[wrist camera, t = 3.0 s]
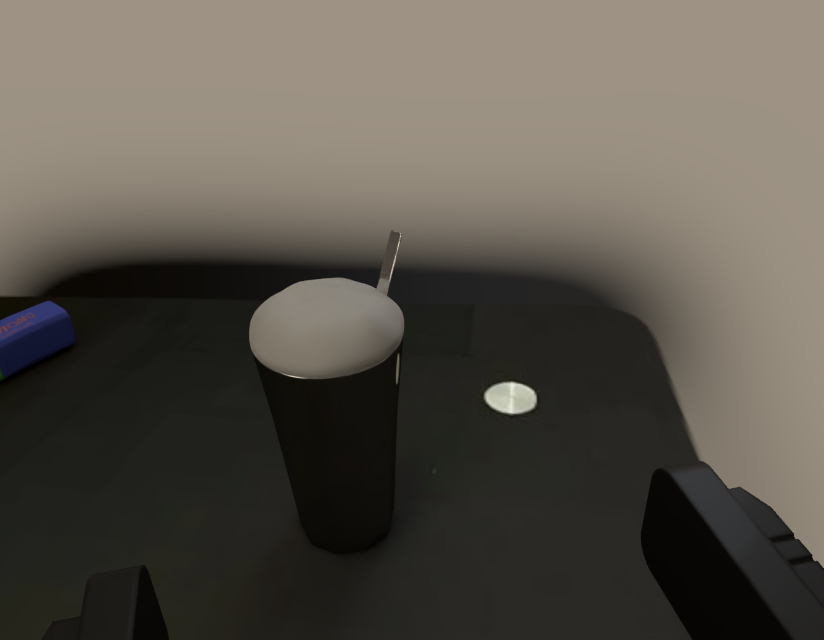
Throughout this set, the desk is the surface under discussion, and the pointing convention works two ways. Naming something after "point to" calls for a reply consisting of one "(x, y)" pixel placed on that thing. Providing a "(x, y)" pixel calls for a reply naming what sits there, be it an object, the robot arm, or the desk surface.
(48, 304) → the eraser
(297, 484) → the milkshake
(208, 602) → the desk surface
